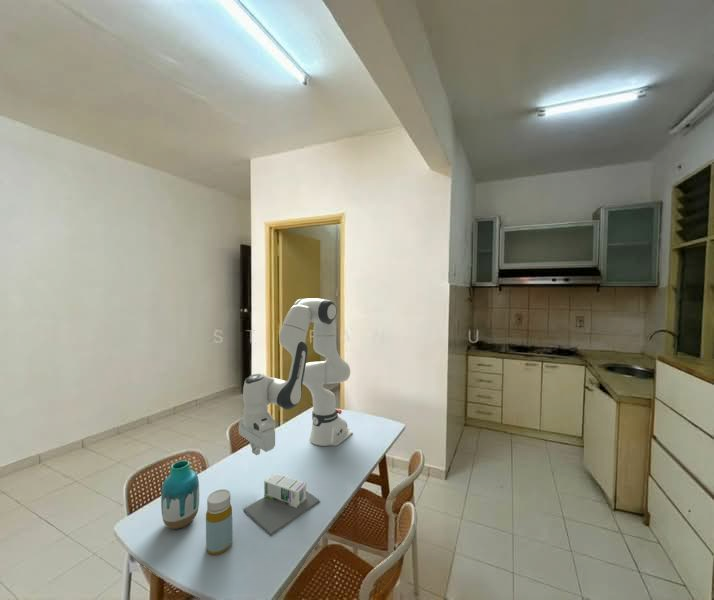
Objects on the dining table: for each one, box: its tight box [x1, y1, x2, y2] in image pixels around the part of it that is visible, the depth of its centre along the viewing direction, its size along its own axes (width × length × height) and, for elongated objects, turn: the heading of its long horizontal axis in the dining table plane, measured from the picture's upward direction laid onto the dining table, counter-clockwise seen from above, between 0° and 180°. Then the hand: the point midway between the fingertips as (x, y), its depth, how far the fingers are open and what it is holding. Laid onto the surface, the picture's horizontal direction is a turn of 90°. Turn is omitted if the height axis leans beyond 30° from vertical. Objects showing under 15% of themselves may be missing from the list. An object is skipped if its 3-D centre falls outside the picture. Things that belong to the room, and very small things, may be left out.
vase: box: [160, 459, 200, 530], centre depth 99 cm, size 11×11×19 cm
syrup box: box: [263, 472, 307, 508], centre depth 111 cm, size 6×6×14 cm
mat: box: [243, 490, 321, 536], centre depth 107 cm, size 20×16×1 cm
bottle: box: [205, 488, 233, 556], centre depth 91 cm, size 7×7×15 cm
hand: (256, 453), depth 118 cm, fingers closed
